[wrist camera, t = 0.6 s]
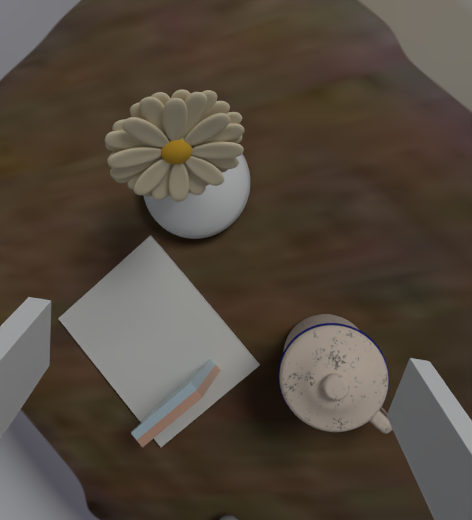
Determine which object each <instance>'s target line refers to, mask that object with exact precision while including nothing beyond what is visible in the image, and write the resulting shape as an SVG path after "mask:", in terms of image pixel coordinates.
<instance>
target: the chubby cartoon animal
mask: <svg viewBox="0 0 472 520" xmlns="http://www.w3.org/2000/svg"><path fill="white" fill-rule="evenodd" d="M220 520H238V519H237V518H235V517H234V516H229V515H227V516H223V517H221V518H220Z"/></svg>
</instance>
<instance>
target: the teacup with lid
mask: <svg viewBox="0 0 472 520" xmlns="http://www.w3.org/2000/svg"><path fill="white" fill-rule="evenodd" d="M278 382H279V387H280V391H281V394H282V397H283V399H284V401H285V403H286V404H287V406H288V407H289V409H290V410H291V411H292V412H293V414H294V415H295V416H297V417H298V418H299V419H300V420H301V421H303V422H304V423H306V424H308V425H309V426H311V427H314V428H316V429H319V430H323V431H328V432H344V431H349V430H352V429H355V428H358V427H360V426H362V425H364V424H365V423H367V422H368V421H370V422H371V423H372V424H373V425H374V426H375V427H376V428H377V429H378V430H380V431H381V432H383V433H389V432H390V431H391V430H392V427H391V424H390V422H389V420H388V418H387V413H386V412H385V411H384V409H383V408H382V407H381V406H382V405H383V403H384V401H385V398H386V396H387V392H388V387H389V372H388V367H387V363H386V360H385V358H384V356H383V354H382V352H381V350H380V349H379V347H378V346H377V345H376V343H375V342H374V341H373V340H372V339H371V338H370V337H369V336H367V335H366V334H365V333H363V332H362V331H360V330H359V329H358V328H357V327H356V326H355V325H354V324H352V323H351V322H349V321H348V320H346V319H344V318H342V317H339V316H336V315H330V314H320V315H314V316H311V317H308V318H306V319H304V320H303V321H301V322H300V323H298V324H297V325H296V326H295V327H294V328H293V329H292V331H291V332H290V334H289V335H288V337H287V339H286V342H285V345H284V351H283V354H282V357H281V360H280V363H279V369H278Z"/></svg>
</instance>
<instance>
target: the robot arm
mask: <svg viewBox="0 0 472 520" xmlns="http://www.w3.org/2000/svg"><path fill="white" fill-rule="evenodd" d="M50 323H51V301H50V300H44V299H38V298H31V297H28V298H27V299H26V301H25V302H24V303H23V304H22V305H21V306H20V307H19V308H18V309H17V310H16V311H15V312H14V313H13V314H12V315H11V316H10V317H9V318H8V319H7V320H6V321H5V322H4V323H3V324H2V325H1V326H0V439H1V438H2V436H3V435H4V433H5V432H6V430H7V429H8V427H9V426H10V424H11V422H12V421H13V420H14V418H15V417H16V415H17V413H18V412H19V410H20V409H21V407H22V406H23V404H24V403H25V401H26V400H27V398H28V397H29V395H30V394H31V392H32V391H33V389H34V388H35V386H36V385H37V383H38V382H39V380H40V379H41V377H42V376H43V374H44V373H45V371H46V370H47V368H48V367H49V357H50ZM387 418H388V420H389V422H390V424H391V427H392V429H393V431H394V433H395V435H396V437H397V440H398V442H399V444H400V446H401V448H402V451H403V453H404V455H405V457H406V459H407V461H408V464H409V466H410V468H411V470H412V472H413V474H414V477H415V479H416V481H417V483H418V485H419V488H420V490H421V492H422V494H423V496H424V498H425V501H426V503H427V505H428V507H429V509H430V512H431V514H432V516H433V518H434V520H472V421H471V419H470V418H469V417H468V415H467V414H466V412H465V411H464V410H463V408H462V407H461V405H460V404H459V402H458V401H457V400H456V398H455V397H454V395H453V394H452V392H451V391H450V390H449V388H448V387H447V385H446V384H445V383H444V381H443V380H442V378H441V377H440V375H439V374H438V373H437V371H436V370H435V368H434V367H433V366H432V364H431V363H430V361H424V360H418V359H412V358H410V359H409V362H408V364H407V367H406V369H405V372H404V374H403V377H402V379H401V382H400V384H399V387H398V389H397V392H396V394H395V397H394V399H393V401H392V404H391V406H390V409H389V411H388V414H387Z"/></svg>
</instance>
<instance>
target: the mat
mask: <svg viewBox="0 0 472 520" xmlns="http://www.w3.org/2000/svg"><path fill="white" fill-rule="evenodd" d="M58 319H59V320H60V322H61V323H62V324H63V325H64V327H65V328H66V329H67V330H68V332H69V333H70V334H71V335H72V337H73V338H74V339H75V340H76V342H77V343H78V344H79V345H80V347H81V348H82V349H83V350H84V352H85V353H86V354H87V355H88V357H89V358H90V359H91V360H92V362H93V363H94V364H95V365H96V367H97V368H98V369H99V371H100V372H101V373H102V374H103V376H104V377H105V378H106V379H107V381H108V382H109V383H110V384H111V386H112V387H113V388H114V389H115V391H116V392H117V393H118V394H119V396H120V397H121V398H122V399H123V401H124V402H125V403H126V404H127V406H128V407H129V408H130V409H131V411H132V412H133V413H134V415H135V416H136V417H137V418H138V420H139V421H140V422H142V421H143V419H144V418H145V417H146V416H147V415H148V414H149V413H150V412H151V411H152V410H153V409H154V408H155V407H156V406H157V405H158V404H159V403H160V401H161V400H162V399H164V398H165V397H166V396H167V395H168V394H169V393H171V392H172V391H173V390H174V389H175V388H177V387H178V386H179V385H180V384H181V383H182V382H184V381H185V380H186V379H187V378H188V377H190V376H191V375H192V374H193V373H194V372H195V371H197V370H198V369H199V368H200V367H201V366H203V365H204V364H205V363H206V362H207V361H208V360H210V359H212V360H213V362H214V363H215V364H216V365H217V366H218V368H219V369H220V372H219V373H218V375H217V376H216V378H215V379H214V381H213V382H212V384H211V385H210V387H209V388H208V390H207V391H206V393H205V394H204V396H203V397H202V398H201V399H200V400H199V401H198V402H196V403H195V404H194V405H193V406H192V407H190V408H189V409H188V410H187V411H186V412H184V413H183V414H182V415H181V416H180V417H178V418H177V419H176V420H175V421H174V422H172V423H171V424H170V425H169V426H168V427H166V428H165V429H164V430H163V431H162V432H160V433H159V434H158V435H157V436H156V437H154V440H155V441H156V442H157V443H158V445H159V446H160V447H162V446H163V445H165V444H166V443H167V442H168V441H169V440H171V439H172V438H173V437H174V436H175V435H177V434H178V433H179V432H180V431H181V430H183V429H184V428H185V427H186V426H187V425H189V424H190V423H191V422H192V421H193V420H195V419H196V418H197V417H198V416H199V415H201V414H202V413H203V412H204V411H205V410H207V409H208V408H209V407H210V406H211V405H213V404H214V403H215V402H216V401H217V400H219V399H220V398H221V397H222V396H223V395H225V394H226V393H227V392H228V391H229V390H231V389H232V388H233V387H234V386H235V385H237V384H238V383H239V382H240V381H241V380H243V379H244V378H245V377H246V376H248V375H249V374H250V373H251V372H252V371H254V370H255V369H256V368H257V367H258V366H259V365H260V364H259V363H258V362H257V361H256V359H255V358H254V357H253V356H252V355H251V353H250V352H249V351H248V350H247V349H246V347H245V346H244V345H243V344H242V343H241V341H240V340H239V339H238V338H237V337H236V335H235V334H234V333H233V332H232V331H231V330H230V328H229V327H228V326H227V325H226V324H225V322H224V321H223V320H222V319H221V318H220V316H219V315H218V314H217V313H216V312H215V310H214V309H213V308H212V307H211V306H210V304H209V303H208V302H207V301H206V300H205V298H204V297H203V296H202V295H201V294H200V293H199V291H198V290H197V289H196V288H195V287H194V285H193V284H192V283H191V282H190V281H189V279H188V278H187V277H186V276H185V275H184V273H183V272H182V271H181V270H180V269H179V267H178V266H177V265H176V264H175V263H174V262H173V260H172V259H171V258H170V257H169V256H168V254H167V253H166V252H165V251H164V250H163V248H162V247H161V246H160V245H159V244H158V242H157V241H156V240H155V239H154V238H153V236H151V235H150V236H149V237H148V238H147V239H146V240H145V241H144V242H143V243H141V244H140V245H139V246H138V247H137V248H136V249H135V250H134V251H133V252H131V253H130V254H129V255H128V256H127V257H126V258H125V259H124V260H123V261H122V262H120V263H119V264H118V265H117V266H116V267H115V268H114V269H113V270H112V271H110V272H109V273H108V274H107V275H106V276H105V277H104V278H103V279H102V280H100V281H99V282H98V283H97V284H96V285H95V286H94V287H93V288H92V289H91V290H89V291H88V292H87V293H86V294H85V295H84V296H83V297H82V298H81V299H79V300H78V301H77V302H76V303H75V304H74V305H73V306H72V307H71V308H69V309H68V310H67V311H66V312H65V313H64V314H63V315H62V316H61V317H59V318H58Z"/></svg>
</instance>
